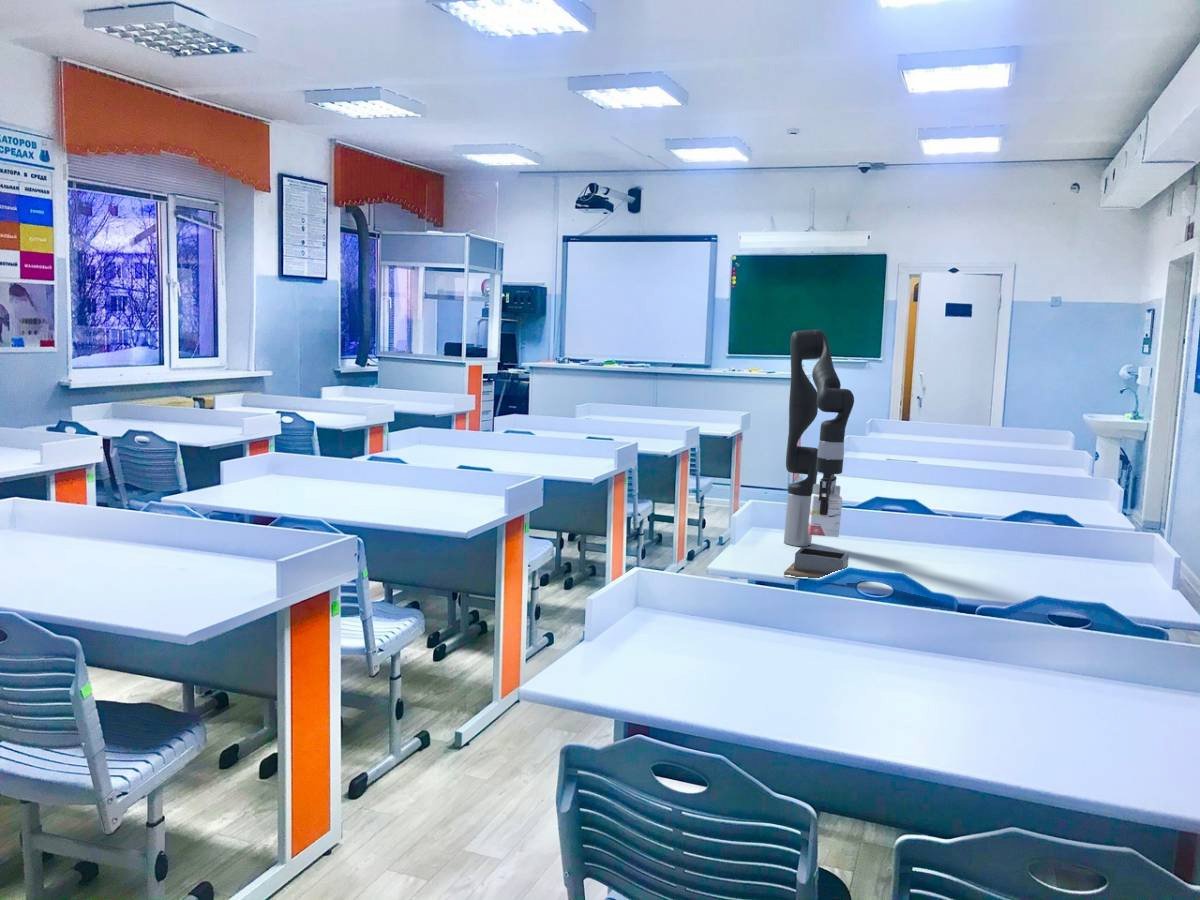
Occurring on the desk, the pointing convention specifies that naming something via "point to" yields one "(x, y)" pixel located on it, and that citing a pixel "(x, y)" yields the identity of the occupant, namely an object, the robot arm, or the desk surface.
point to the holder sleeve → (820, 561)
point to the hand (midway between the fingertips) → (825, 512)
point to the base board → (801, 573)
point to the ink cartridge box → (825, 523)
